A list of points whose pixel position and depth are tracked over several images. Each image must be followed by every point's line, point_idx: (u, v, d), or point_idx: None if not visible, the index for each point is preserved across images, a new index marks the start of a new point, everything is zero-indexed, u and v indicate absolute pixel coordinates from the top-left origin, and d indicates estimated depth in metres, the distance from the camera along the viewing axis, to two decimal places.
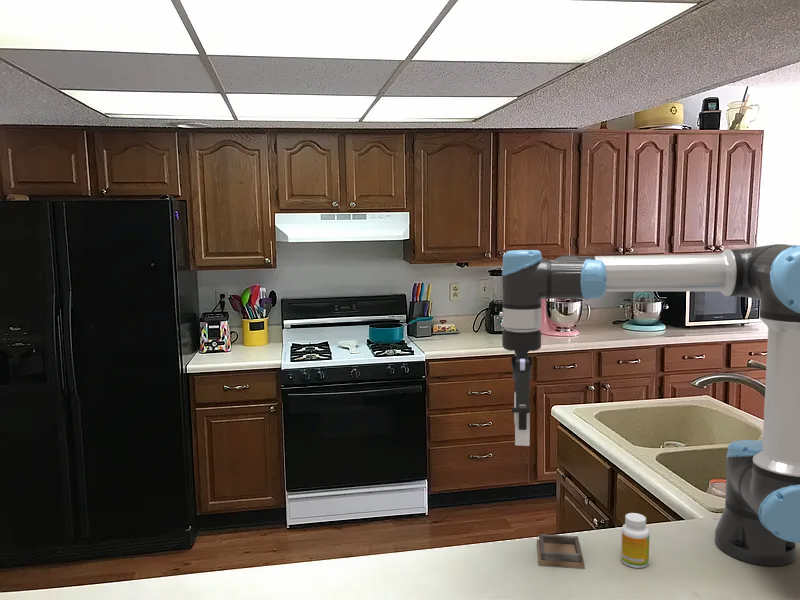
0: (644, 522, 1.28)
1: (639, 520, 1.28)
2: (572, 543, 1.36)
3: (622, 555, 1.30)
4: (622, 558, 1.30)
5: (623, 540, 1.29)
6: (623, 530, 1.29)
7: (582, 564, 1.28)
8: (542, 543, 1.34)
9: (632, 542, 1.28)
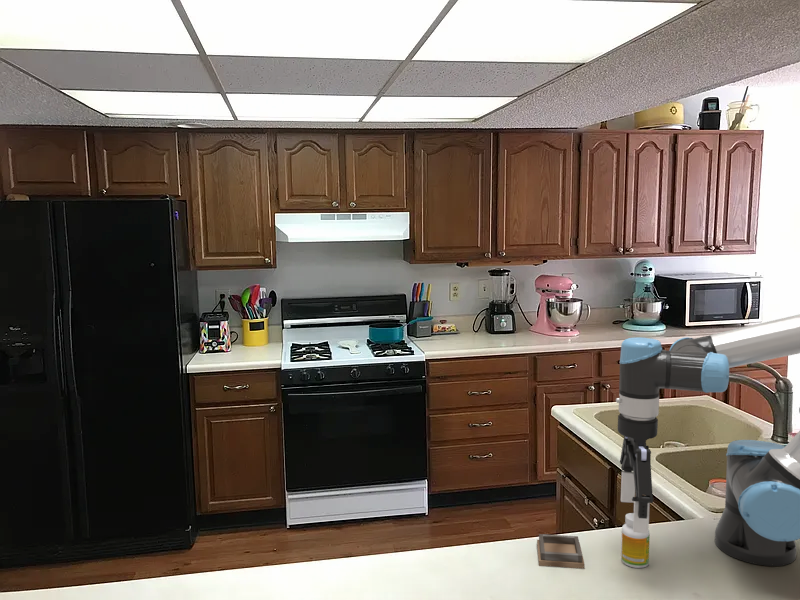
0: None
1: None
2: (572, 543, 1.36)
3: (622, 555, 1.30)
4: (622, 558, 1.30)
5: (623, 540, 1.29)
6: (623, 530, 1.29)
7: (582, 564, 1.28)
8: (542, 543, 1.34)
9: (632, 542, 1.28)
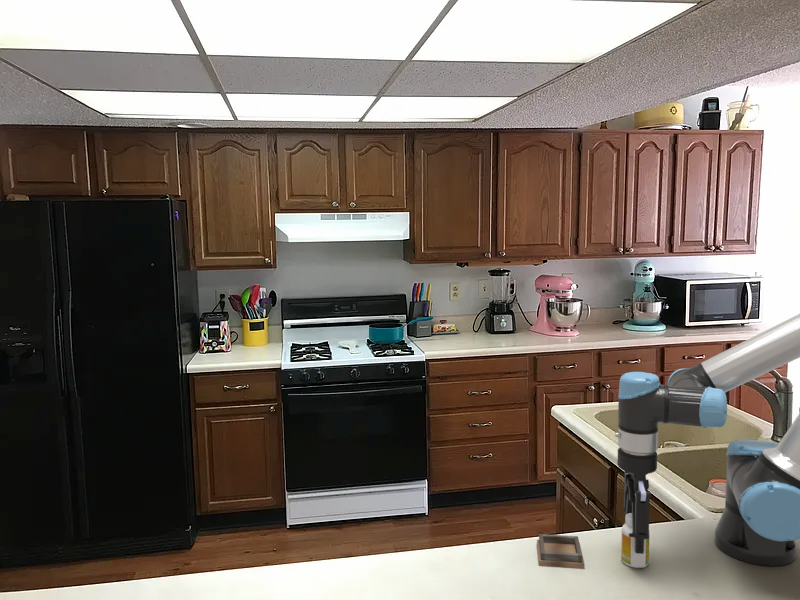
0: None
1: None
2: (572, 543, 1.36)
3: (622, 555, 1.30)
4: (622, 558, 1.30)
5: (623, 540, 1.29)
6: (623, 530, 1.29)
7: (582, 564, 1.28)
8: (542, 543, 1.34)
9: None
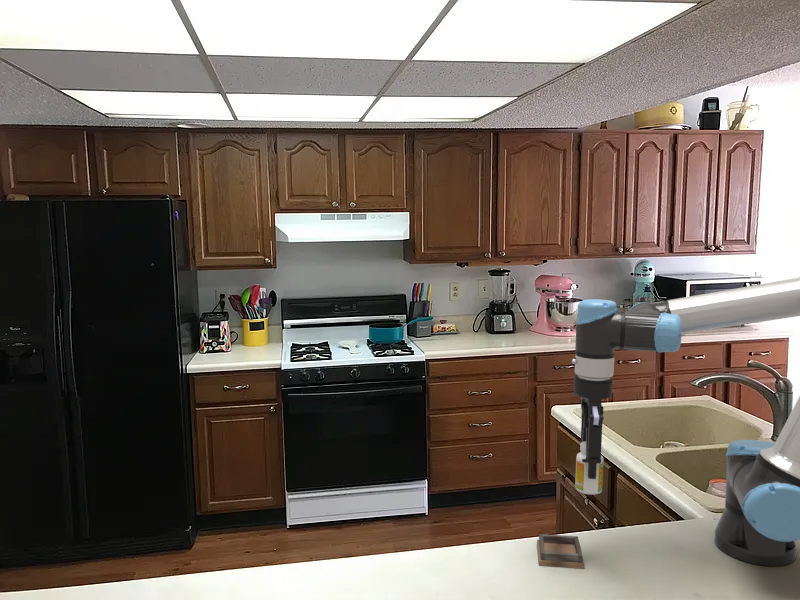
0: None
1: None
2: (572, 543, 1.36)
3: (576, 482, 1.30)
4: (576, 485, 1.30)
5: (577, 467, 1.30)
6: (577, 457, 1.30)
7: (582, 564, 1.28)
8: (542, 543, 1.34)
9: None
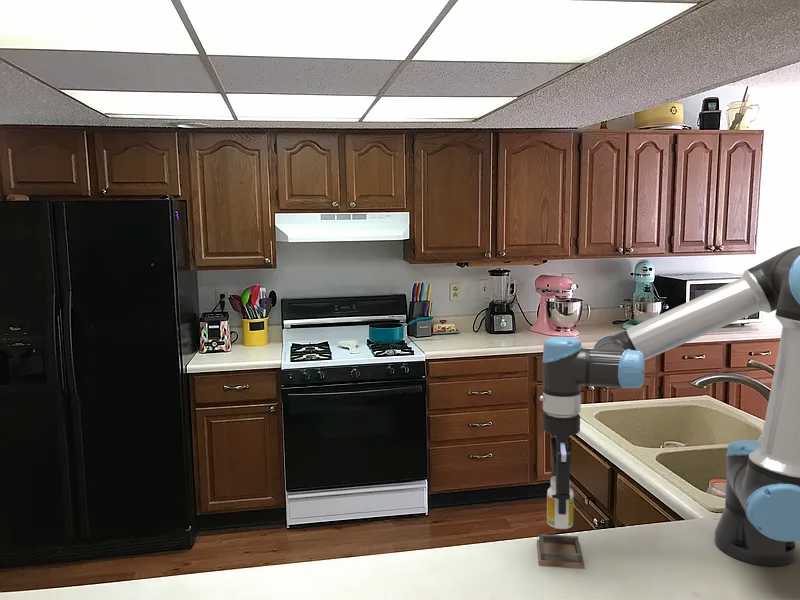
0: None
1: None
2: (572, 543, 1.36)
3: (547, 517, 1.32)
4: (547, 520, 1.32)
5: (548, 502, 1.32)
6: (548, 492, 1.32)
7: (582, 564, 1.28)
8: (542, 543, 1.34)
9: None
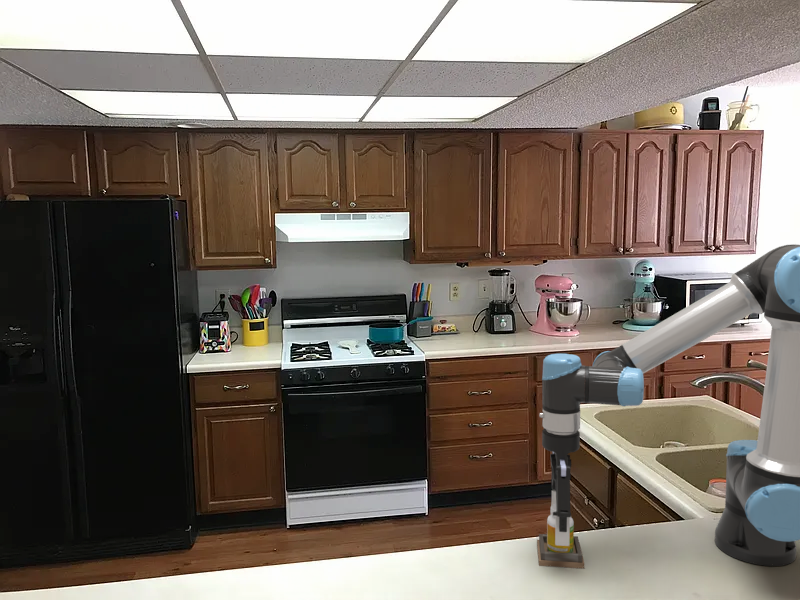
0: None
1: None
2: None
3: (547, 545, 1.33)
4: (547, 548, 1.33)
5: (548, 530, 1.32)
6: (548, 520, 1.32)
7: (582, 564, 1.28)
8: (542, 543, 1.34)
9: None
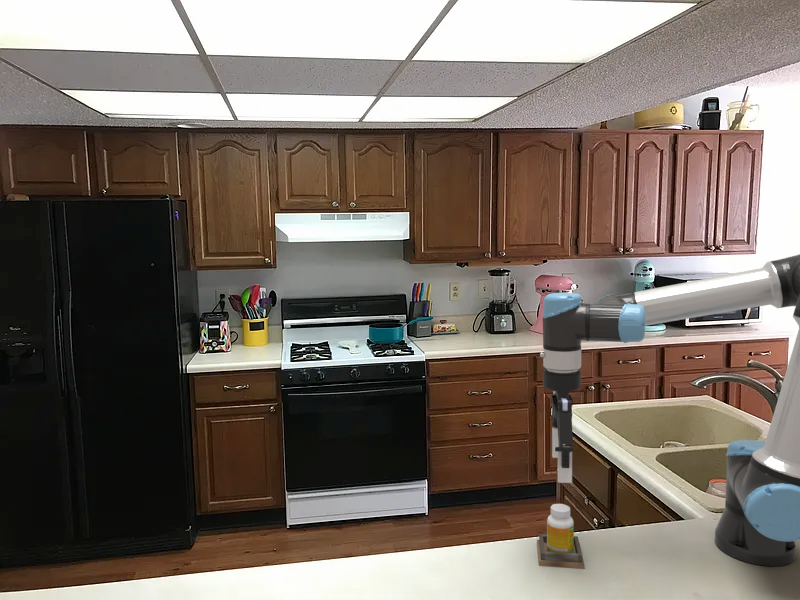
0: (568, 512, 1.31)
1: (563, 510, 1.31)
2: None
3: (547, 545, 1.33)
4: (547, 548, 1.33)
5: (548, 530, 1.32)
6: (548, 520, 1.32)
7: (582, 564, 1.28)
8: (542, 543, 1.34)
9: (556, 532, 1.30)
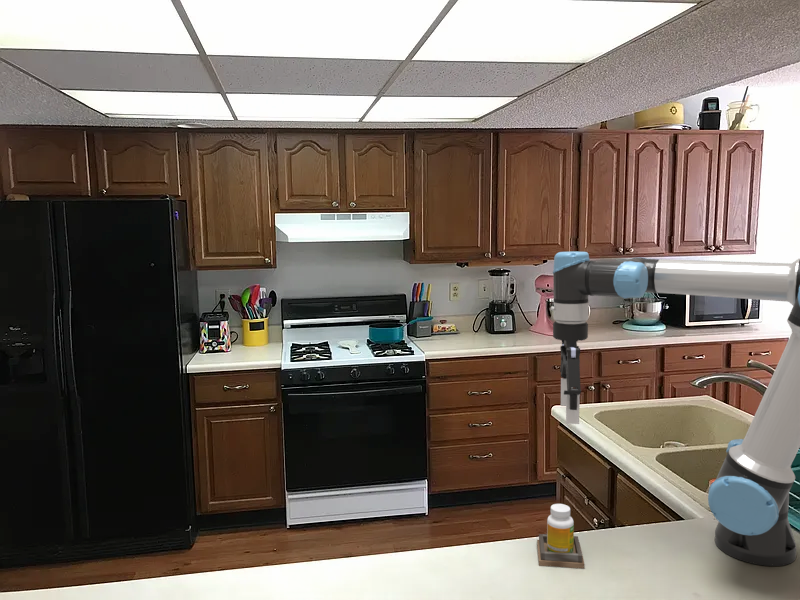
0: (568, 512, 1.31)
1: (563, 510, 1.31)
2: None
3: (547, 545, 1.33)
4: (547, 548, 1.33)
5: (548, 530, 1.32)
6: (548, 520, 1.32)
7: (582, 564, 1.28)
8: (542, 543, 1.34)
9: (556, 532, 1.30)
